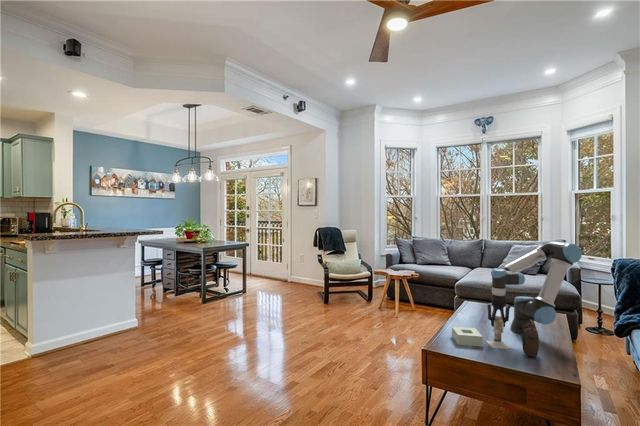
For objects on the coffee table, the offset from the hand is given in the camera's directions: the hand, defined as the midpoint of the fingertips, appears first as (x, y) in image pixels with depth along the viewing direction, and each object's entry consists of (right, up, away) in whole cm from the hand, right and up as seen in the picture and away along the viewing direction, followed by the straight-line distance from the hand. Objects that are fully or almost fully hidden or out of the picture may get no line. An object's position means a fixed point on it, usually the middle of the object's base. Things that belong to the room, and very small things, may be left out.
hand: (497, 331), depth 209 cm
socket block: (-21, -5, -3) cm, 22 cm away
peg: (0, -5, 0) cm, 5 cm away
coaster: (-5, -5, -9) cm, 11 cm away
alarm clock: (+5, -6, -23) cm, 24 cm away
